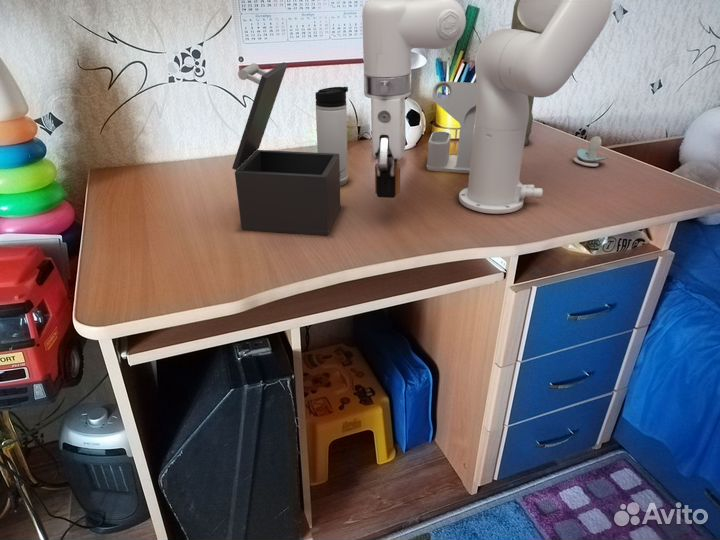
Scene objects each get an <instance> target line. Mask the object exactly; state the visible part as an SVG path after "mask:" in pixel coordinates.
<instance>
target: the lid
mask: <svg viewBox="0 0 720 540" xmlns="http://www.w3.org/2000/svg"><path fill="white" fill-rule="evenodd" d="M288 65H289V64H288V63H286V62H284V61H283V62H282V63H280V64H278V65H277V66H275V67H273V68H272V69H270V70H269V71H266V70H263V69H262V68H260V66H259V64H257V63H255V62H252V63H251V64H249V65H247V66H245V67H243V68H242V69H240V70H238V72H237V75H238V78H239V80H242V81H245V80H246V81H247V80H249V81H251V82H252V83H254V84H257V85H258V86H257V88H256V92H255V95H254V99H253V101H252V105H251V108H250V111H249V114H248V118H247V119H246V124H245V127H244V130H243V132H242V136H241V139H240V142H239V145H238V149H237V151H236V154H235V158H234V161H233V164H232V166H231V170H234V171H236V170H237V169H238V168H239V167H240V166H241V165H242V164H243V163H244V162H245V161H246V160H247V159H249V158H250V157H251V156H252V155H253V154H254V153H255V152H256V151H257V150H260V146H261V143H262V142H263V141H262V140H263V137H264V135H265V132H266V129H267V126H268V123H269V120H270V117H271V114H272V112H273V109H274V105H275V103H276V100H277V97H278V94H279V91H280V88H281V85H282V82H283V79H284V77H285V74H286V70H287V68H288ZM256 74H257V75H260V78H259V77H256V76H255V75H256Z"/></svg>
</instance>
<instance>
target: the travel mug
mask: <svg viewBox="0 0 720 540" xmlns="http://www.w3.org/2000/svg"><path fill="white" fill-rule="evenodd" d="M348 92H349V87H348V86H331V87H330V86H329V87H325V88H321V89H319V90H317V91H316V92H315V121H316V123H315V124H316V144H317V145H316V146H317V148H316V149H317V153H334V154H339V160H340V187H342V186H345V185H346V184H347V183H348V181H349V176H348V174H349V173H348V168H349V167H348V112H347V109H348V108H347V107H348V106H347V104H348V103H347V93H348Z"/></svg>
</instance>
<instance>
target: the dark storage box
mask: <svg viewBox="0 0 720 540" xmlns="http://www.w3.org/2000/svg"><path fill="white" fill-rule="evenodd" d="M234 177H235V186H236V187H235V188H236V195H237V203H238V211H239V219H240V226H241V231H252V232H267V233H281V234H295V235H296V234H299V235H311V236H312V235H313V236H325V237H328V236H329V234H330V232H331V229H332V227H333V226H334V223H335V221H336V218H337V216H338V214H339V212H340V210H341V186H340V160H339V154H334V153H318V152H311V151H289V150H271V149H269V150H268V149H258V150H257V151H255V152H254V153H253V154H252V155H251V156H250V157H249V158H248V159H247V160H246V161H245V162H244V163H243V164H242V165H241V166H240V167H239V168H238V169H237V170H234Z"/></svg>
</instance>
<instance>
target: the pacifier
mask: <svg viewBox="0 0 720 540" xmlns="http://www.w3.org/2000/svg"><path fill="white" fill-rule="evenodd" d="M601 147H602V139H601V137H600V136H597V135H596V136H593V137H592V138H591V139H590V140H589V142H588V149H589V150H587V149H585V148H579V149H578V150H577V152H576V154H577V156H576V157H574V158H573V162H574V163H576V164H578V165H582V166H586V167H591V168H594V167H598V166H599V165H600V164H599V162H601V161H605V160H607V159H608V158H609V156H606V157H605V156H604V157H603V156H602V157H597V156H598V152H599V149H600V148H601Z"/></svg>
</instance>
